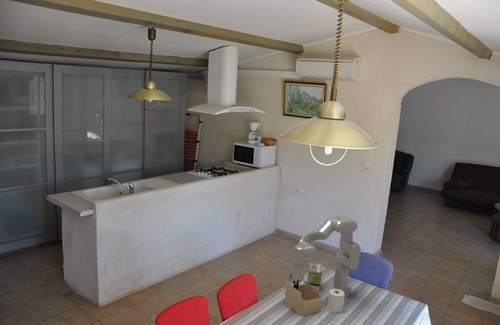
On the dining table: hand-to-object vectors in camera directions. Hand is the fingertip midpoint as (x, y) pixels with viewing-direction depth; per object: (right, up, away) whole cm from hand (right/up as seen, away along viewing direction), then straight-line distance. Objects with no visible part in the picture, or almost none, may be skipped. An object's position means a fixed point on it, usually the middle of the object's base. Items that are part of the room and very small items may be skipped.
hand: (295, 289), depth 269 cm
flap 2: (+12, -1, +7) cm, 13 cm away
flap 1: (-1, -1, -1) cm, 2 cm away
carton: (+5, -14, +6) cm, 16 cm away
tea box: (+18, -9, +37) cm, 42 cm away
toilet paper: (+28, -15, +6) cm, 32 cm away
